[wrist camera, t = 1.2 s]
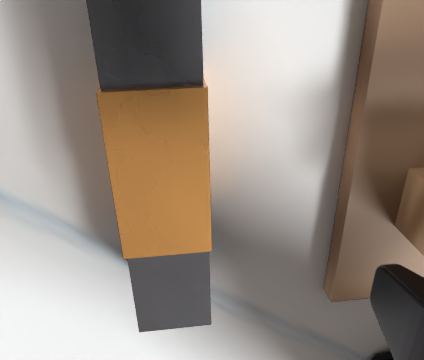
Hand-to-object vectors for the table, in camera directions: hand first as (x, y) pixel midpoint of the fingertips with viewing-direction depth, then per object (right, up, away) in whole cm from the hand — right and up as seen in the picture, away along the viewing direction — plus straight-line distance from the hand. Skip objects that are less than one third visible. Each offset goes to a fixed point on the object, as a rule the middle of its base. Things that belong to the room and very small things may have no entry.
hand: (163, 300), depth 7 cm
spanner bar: (-1, +4, +8) cm, 9 cm away
